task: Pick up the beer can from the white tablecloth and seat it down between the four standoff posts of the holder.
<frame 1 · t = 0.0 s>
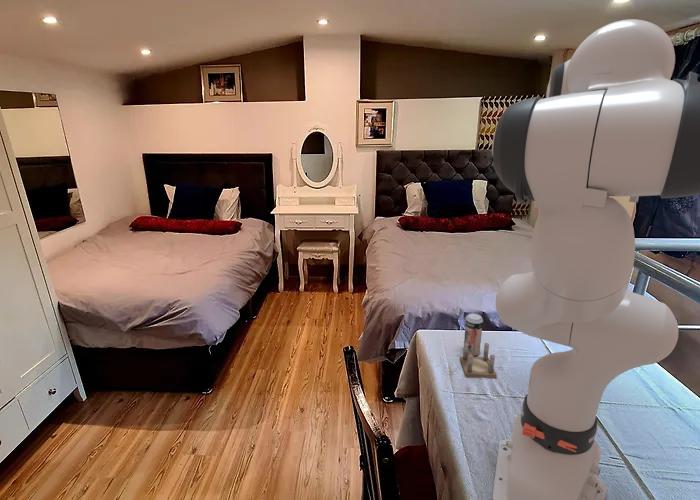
hand: (606, 199, 81), 48 cm above the table, tool pointing down, fingers open, 8 cm apart
beer can: (471, 353, 111), on the table
holder: (477, 368, 103), on the table
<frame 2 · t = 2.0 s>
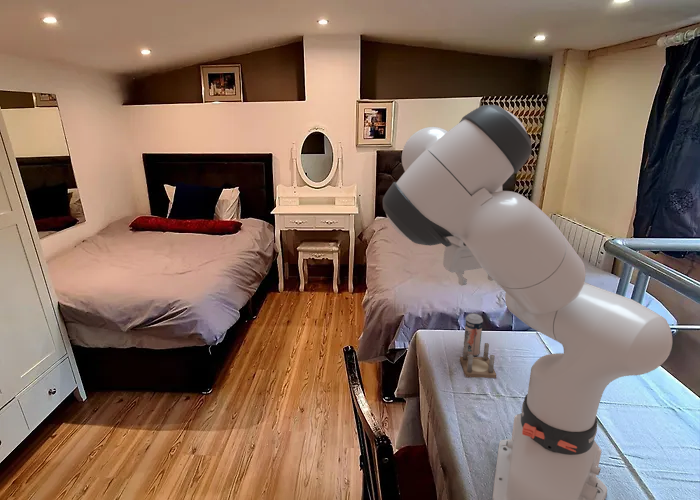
hand: (477, 282, 103), 23 cm above the table, tool pointing down, fingers open, 8 cm apart
nothing on the table moved.
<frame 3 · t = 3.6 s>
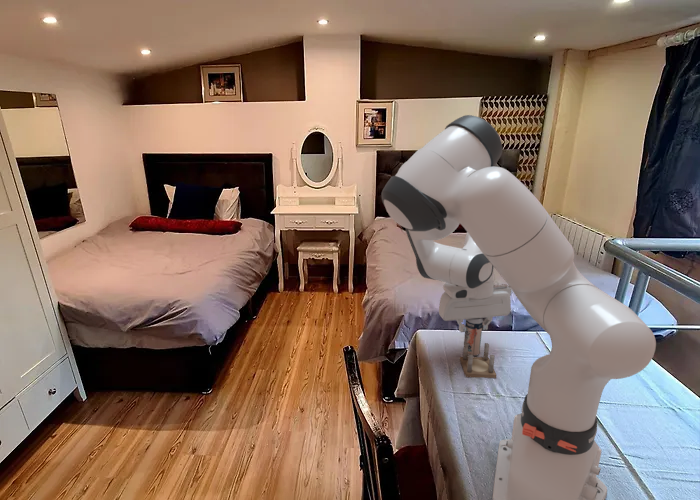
hand: (473, 330, 108), 8 cm above the table, tool pointing down, fingers open, 5 cm apart
beer can: (471, 353, 111), on the table, touching gripper
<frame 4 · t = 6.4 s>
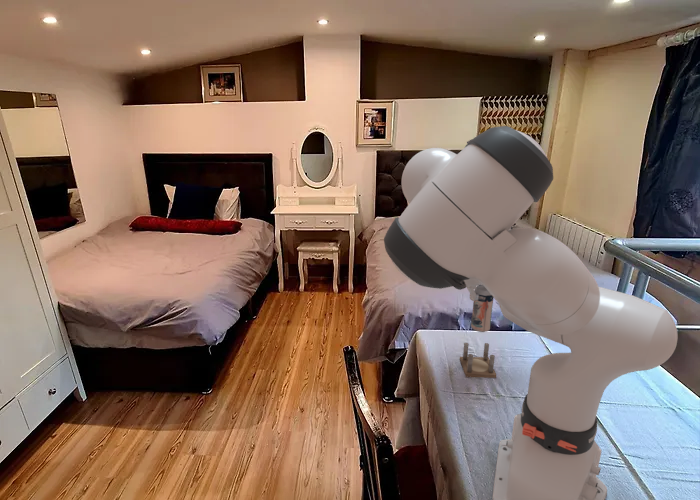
hand: (484, 298, 96), 22 cm above the table, tool pointing down, fingers closed on beer can, 5 cm apart
beer can: (480, 329, 100), point 12 cm above the table, touching gripper
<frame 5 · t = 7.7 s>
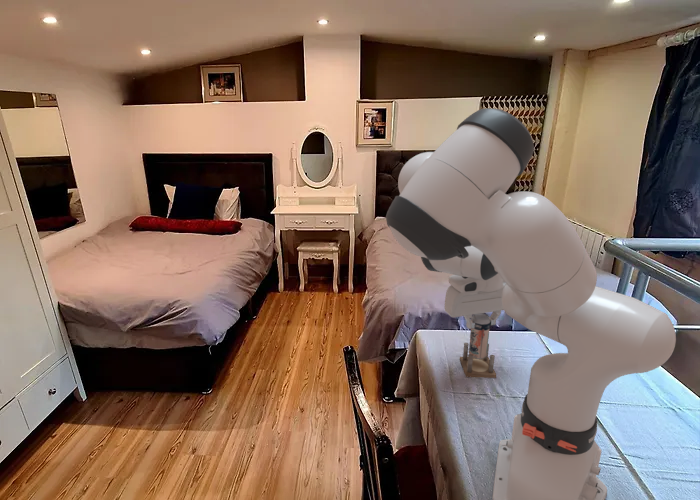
hand: (480, 326, 99), 13 cm above the table, tool pointing down, fingers closed on beer can, 5 cm apart
beer can: (477, 355, 102), point 4 cm above the table, touching gripper
when the fingers open (10 cm above the table, at t = 8.8 s): beer can stays where it is, resting on holder.
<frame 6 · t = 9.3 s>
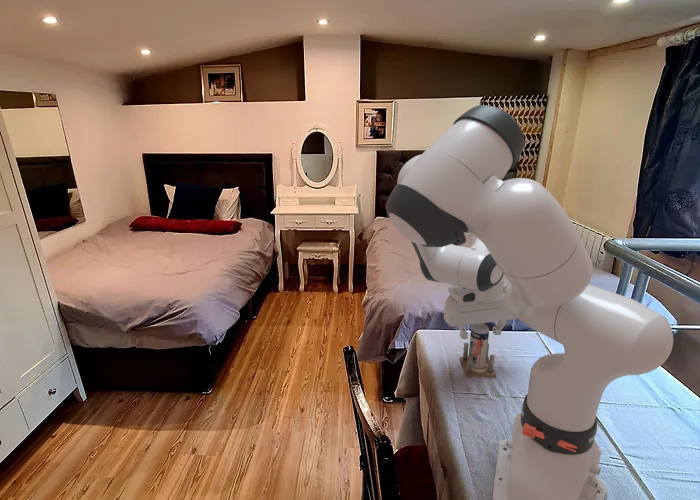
hand: (480, 335, 100), 10 cm above the table, tool pointing down, fingers open, 8 cm apart
beer can: (476, 364, 103), point 1 cm above the table, touching holder
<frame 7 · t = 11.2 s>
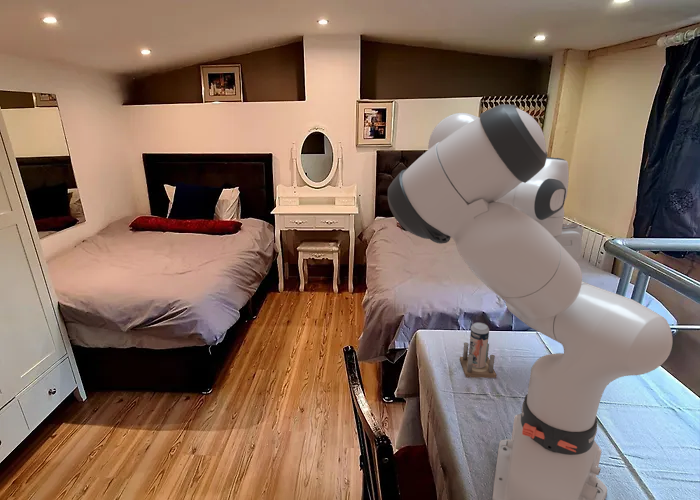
hand: (535, 277, 95), 27 cm above the table, tool pointing down, fingers open, 8 cm apart
nothing on the table moved.
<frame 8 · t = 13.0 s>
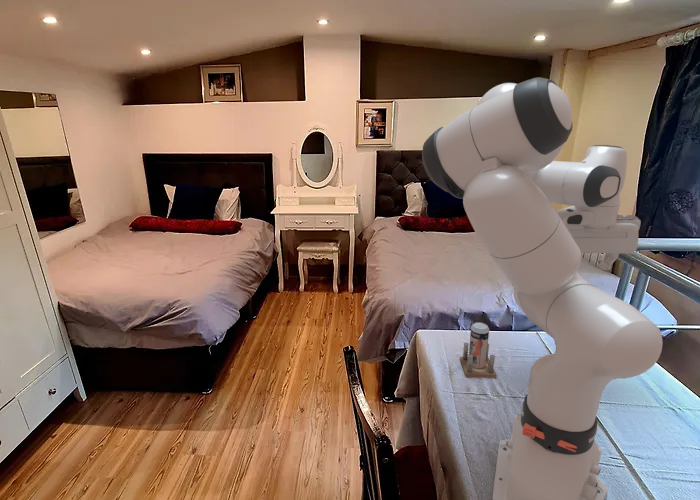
hand: (585, 268, 94), 29 cm above the table, tool pointing down, fingers open, 8 cm apart
nothing on the table moved.
at the end: beer can 0.4 cm from the holder (horizontally); beer can tilted 0°; beer can point 0.9 cm above the table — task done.
